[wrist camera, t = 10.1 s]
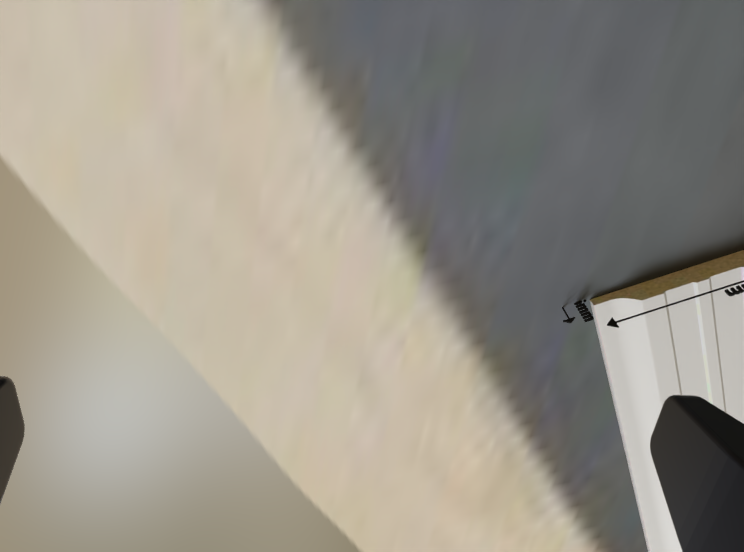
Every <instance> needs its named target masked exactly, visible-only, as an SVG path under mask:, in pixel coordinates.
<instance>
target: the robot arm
mask: <svg viewBox="0 0 744 552" xmlns="http://www.w3.org/2000/svg"><path fill="white" fill-rule="evenodd" d="M23 437H24V420H23V416H22V413H21V408H20V404H19V400H18V397H17V392H16V388H15V385H14V383H13V381H12V380H11V379H10V378H8V377H5V376H0V503H1V500H2V498H3V495H4V492H5V489H6V486H7V484H8V481H9V478H10V475H11V473H12V470H13V467H14V464H15V462H16V459H17V456H18V453H19V450H20V447H21V445H22V442H23ZM650 451H651V456H652V459H653V463H654V466H655V469H656V472H657V475H658V478H659V481H660V484H661V488H662V491H663V494H664V497H665V500H666V503H667V506H668V509H669V513H670V516H671V519H672V522H673V525H674V528H675V531H676V535H677V538H678V540H679V543H680V546H681V549H682V552H744V424H743V423H742V422H740V421H738V420H737V419H735V418H734V417H732V416H730V415H729V414H727V413H726V412H724V411H722V410H721V409H719V408H718V407H716V406H714V405H713V404H711V403H710V402H708V401H706V400H705V399H703V398H701V397H699V396H693V395H672V396H669V397H668V398H667V399H666V400H665V402H664V404H663V406H662V409H661V412H660V414H659V417H658V420H657V422H656V425H655V428H654V430H653V433H652V435H651V440H650Z"/></svg>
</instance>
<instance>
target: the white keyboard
mask: <svg viewBox="0 0 744 552" xmlns="http://www.w3.org/2000/svg"><path fill="white" fill-rule="evenodd" d="M584 302H586V300H584ZM581 303H582V301H581V302H578V303H574V305H577V306H576V308H578V311H579V313H580V314H581V313H582V314H581V316H584V315H587V314H588V315H587V316H584V317H583V319H585V320H584V321H585V322H587V321H591V320H593V319H594V320H595V324H596V328H597V333H598V337H599V341H600V346H601V350H602V354H603V359H604V363H605V367H606V371H607V376H608V380H609V384H610V389H611V393H612V397H613V402H614V406H615V410H616V414H617V419H618V423H619V427H620V432H621V436H622V440H623V445H624V449H625V453H626V457H627V462H628V466H629V470H630V475H631V479H632V483H633V488H634V492H635V496H636V501H637V505H638V509H639V513H640V518H641V522H642V526H643V531H644V535H645V539H646V544H647V548H648V552H682V549H681V546H680V543H679V540H678V538H677V535H676V531H675V528H674V525H673V522H672V519H671V516H670V513H669V509H668V506H667V503H666V500H665V497H664V494H663V491H662V488H661V484H660V481H659V478H658V475H657V472H656V469H655V466H654V463H653V459H652V456H651V451H650V440H651V435H652V433H653V430H654V428H655V425H656V422H657V420H658V417H659V414H660V412H661V409H662V406H663V404H664V402H665V400H666V399H667V398H668V397H669V396H672V395H693V396H699V397H701V398H703V399H705V400H706V401H708V402H710V403H711V404H713V405H714V406H716V407H718V408H719V409H721V410H722V411H724V412H726V413H727V414H729V415H730V416H732V417H734V418H735V419H737V420H738V421H740V422H742V423H743V424H744V250H742V251H739V252H736V253H733V254H730V255H727V256H723V257H720V258H717V259H714V260H711V261H708V262H705V263H702V264H699V265H696V266H692V267H689V268H686V269H683V270H680V271H677V272H674V273H671V274H668V275H665V276H662V277H658V278H655V279H652V280H649V281H646V282H643V283H640V284H637V285H634V286H631V287H627V288H624V289H621V290H618V291H615V292H612V293H609V294H606V295H603V296H600V297H597V298H593V299H590V303H591V307H592V311H593V316H594V318H593V316H592V314H591V313H590V312H589V311H588V308H586V305H585V304H584V303H583V304H581ZM582 306H583V307H582ZM579 307H581V308H579ZM562 309H563V311H564V312H565V314H566V316H567V317H568V319H567V320H564V321H563V322H567V323H572V321H573V320H574V319H575V317H573V318H569V316H568V315H567V313H566V311H565V310H564V308H563V307H562ZM583 309H585V310H583ZM580 310H582V311H580ZM587 311H588V312H587ZM584 312H585V313H584ZM589 317H590V318H589ZM586 318H588V319H586Z"/></svg>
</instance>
